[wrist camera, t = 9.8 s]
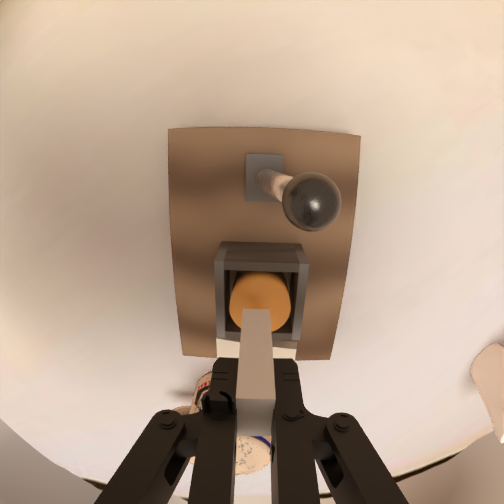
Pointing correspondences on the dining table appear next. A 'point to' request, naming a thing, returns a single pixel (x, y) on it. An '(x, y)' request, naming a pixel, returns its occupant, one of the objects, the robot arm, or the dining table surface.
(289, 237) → the switch panel
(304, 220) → the toggle lever
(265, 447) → the teacup with lid
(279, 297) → the push button
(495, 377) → the foam cup
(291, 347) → the rocker switch
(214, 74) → the dining table surface
